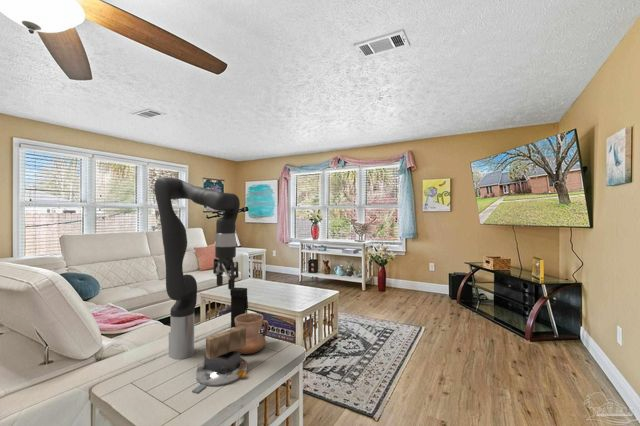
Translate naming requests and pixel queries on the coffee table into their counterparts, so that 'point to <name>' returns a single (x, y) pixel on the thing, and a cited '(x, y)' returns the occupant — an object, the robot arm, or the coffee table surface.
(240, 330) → the brown wooden block
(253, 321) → the ceramic jug
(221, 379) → the grey disc
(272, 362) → the coffee table surface
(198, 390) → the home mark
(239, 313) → the portable radio
